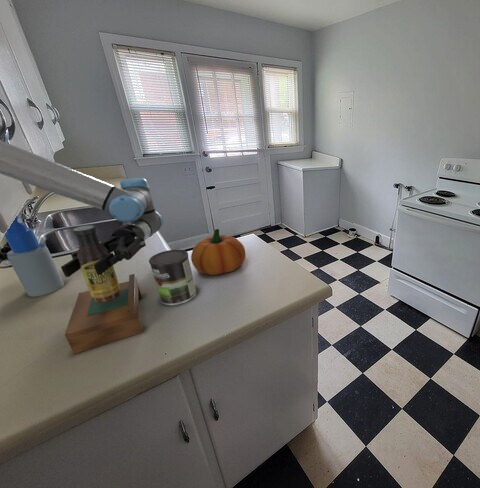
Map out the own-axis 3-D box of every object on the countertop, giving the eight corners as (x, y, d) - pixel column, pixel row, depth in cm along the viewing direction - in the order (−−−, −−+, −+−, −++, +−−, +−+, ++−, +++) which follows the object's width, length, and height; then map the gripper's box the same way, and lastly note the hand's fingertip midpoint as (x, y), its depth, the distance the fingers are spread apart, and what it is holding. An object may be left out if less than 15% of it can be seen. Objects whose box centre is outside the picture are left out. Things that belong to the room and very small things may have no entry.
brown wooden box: (74, 354, 64) (60, 327, 61) (86, 310, 79) (76, 287, 76) (143, 331, 71) (134, 307, 68) (142, 295, 86) (135, 273, 83)
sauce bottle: (96, 307, 69) (64, 235, 61) (91, 297, 72) (61, 228, 64) (126, 296, 73) (100, 227, 65) (120, 287, 77) (95, 221, 69)
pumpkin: (182, 274, 98) (172, 236, 92) (216, 253, 115) (210, 219, 109) (226, 283, 93) (219, 243, 87) (256, 259, 109) (252, 224, 103)
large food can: (177, 309, 80) (166, 267, 74) (153, 301, 83) (140, 261, 78) (204, 290, 89) (195, 252, 83) (180, 284, 92) (170, 247, 86)
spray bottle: (70, 280, 95) (39, 212, 85) (51, 295, 87) (15, 221, 77) (41, 282, 93) (6, 213, 83) (19, 297, 85) (-22, 223, 75)
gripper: (167, 244, 87) (129, 281, 66) (102, 247, 85) (42, 287, 64) (161, 222, 84) (120, 254, 63) (94, 225, 82) (28, 259, 61)
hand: (81, 270), depth 64 cm, fingers closed on sauce bottle, 6 cm apart
